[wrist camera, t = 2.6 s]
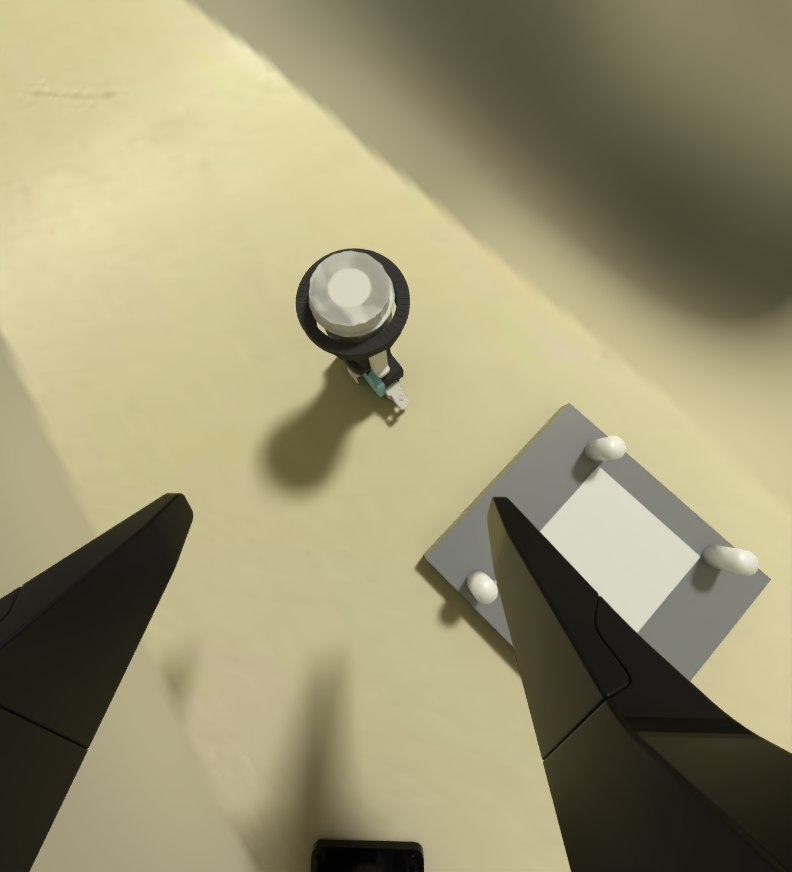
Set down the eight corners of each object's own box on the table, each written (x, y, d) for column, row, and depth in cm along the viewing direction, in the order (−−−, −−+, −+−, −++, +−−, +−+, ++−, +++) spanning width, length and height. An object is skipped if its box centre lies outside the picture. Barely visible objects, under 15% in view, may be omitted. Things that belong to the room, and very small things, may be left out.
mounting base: (613, 745, 21) (651, 791, 18) (423, 554, 23) (427, 565, 20) (751, 574, 22) (809, 589, 19) (561, 407, 24) (585, 395, 21)
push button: (433, 387, 24) (454, 319, 15) (374, 432, 24) (355, 393, 14) (377, 319, 25) (361, 211, 15) (319, 361, 25) (264, 278, 15)
